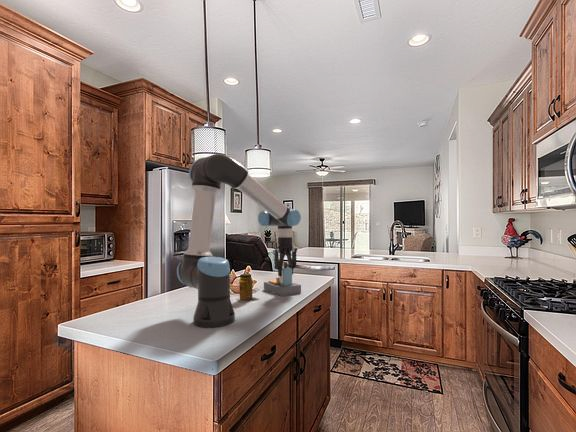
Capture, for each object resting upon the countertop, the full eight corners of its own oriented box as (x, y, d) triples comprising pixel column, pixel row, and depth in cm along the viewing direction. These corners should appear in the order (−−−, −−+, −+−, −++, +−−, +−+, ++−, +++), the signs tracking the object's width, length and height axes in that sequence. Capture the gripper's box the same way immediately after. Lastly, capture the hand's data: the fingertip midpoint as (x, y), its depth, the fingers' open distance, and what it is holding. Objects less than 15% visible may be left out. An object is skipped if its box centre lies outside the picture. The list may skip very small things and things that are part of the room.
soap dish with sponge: (301, 292, 160) (300, 284, 160) (281, 296, 154) (280, 288, 154) (282, 286, 175) (282, 279, 175) (263, 289, 169) (263, 282, 169)
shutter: (288, 282, 166) (288, 276, 166) (275, 284, 162) (275, 278, 162) (281, 280, 172) (281, 274, 173) (268, 281, 168) (268, 275, 168)
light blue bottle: (287, 284, 164) (286, 261, 164) (291, 285, 160) (291, 262, 161) (279, 285, 162) (279, 261, 162) (284, 286, 158) (284, 262, 158)
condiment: (236, 299, 149) (235, 274, 149) (251, 296, 154) (251, 272, 154) (243, 302, 143) (243, 276, 143) (259, 299, 148) (259, 274, 148)
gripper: (295, 235, 169) (295, 278, 169) (266, 237, 160) (267, 282, 160) (303, 236, 163) (303, 281, 163) (273, 237, 154) (274, 285, 153)
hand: (285, 281), depth 161 cm, fingers closed on light blue bottle, 4 cm apart
